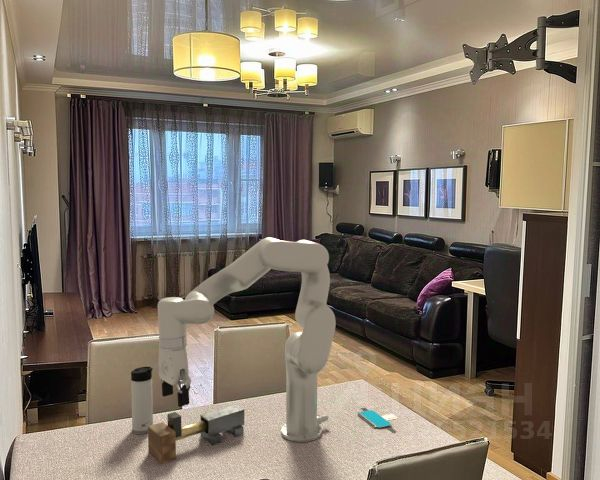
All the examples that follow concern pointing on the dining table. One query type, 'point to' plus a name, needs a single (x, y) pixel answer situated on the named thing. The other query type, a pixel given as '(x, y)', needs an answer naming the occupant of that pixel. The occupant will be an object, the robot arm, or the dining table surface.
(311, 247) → the robot arm
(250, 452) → the dining table surface
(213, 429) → the metal sleeve
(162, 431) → the walnut socket
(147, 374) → the travel mug
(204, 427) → the brass rod
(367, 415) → the cyan and grey device
